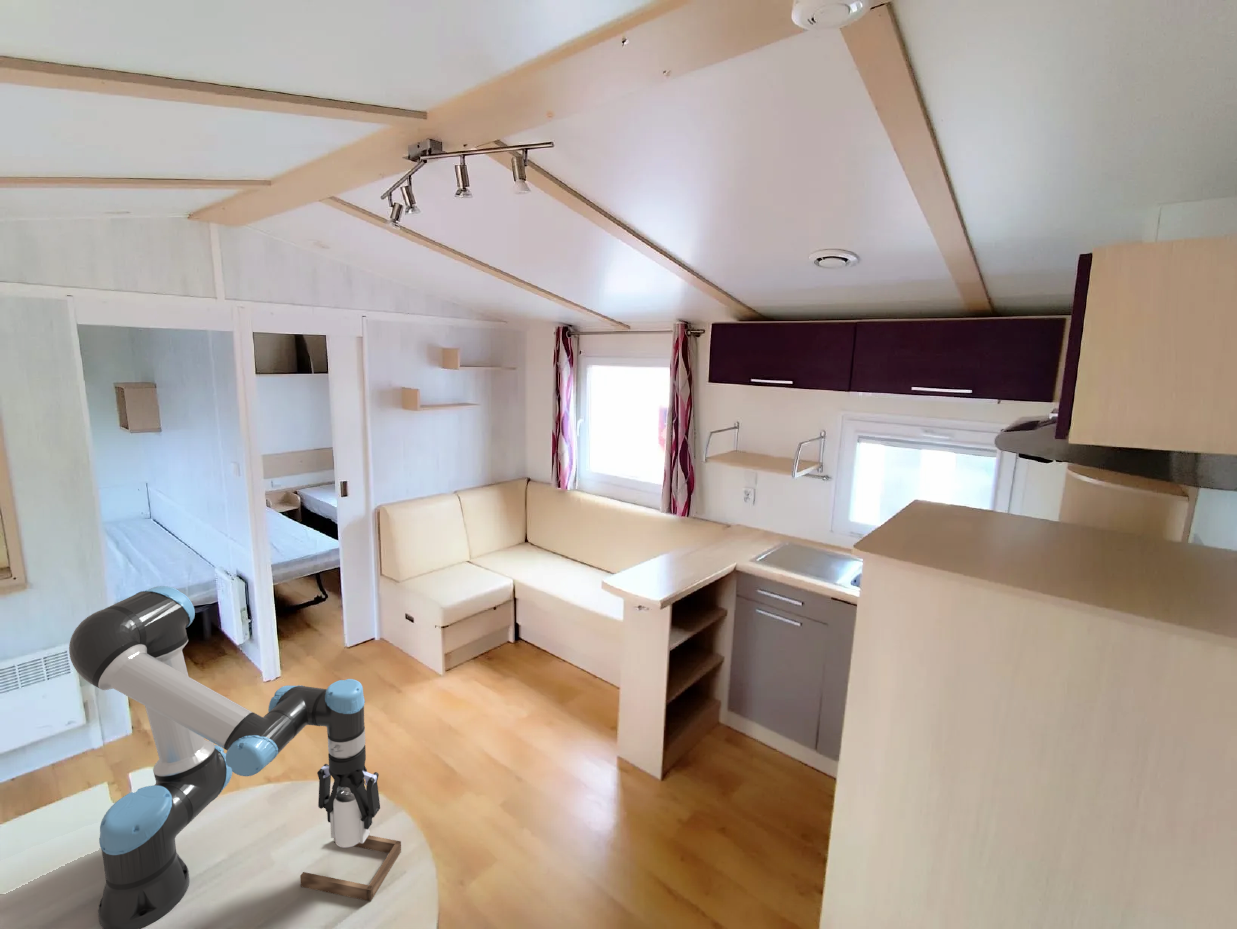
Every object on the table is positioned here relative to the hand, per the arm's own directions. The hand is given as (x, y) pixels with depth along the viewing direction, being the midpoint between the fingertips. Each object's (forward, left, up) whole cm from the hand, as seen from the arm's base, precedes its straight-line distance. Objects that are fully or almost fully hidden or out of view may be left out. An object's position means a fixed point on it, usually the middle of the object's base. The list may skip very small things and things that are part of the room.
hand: (350, 835), depth 132 cm
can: (0, 0, -1) cm, 1 cm away
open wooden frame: (0, 0, -9) cm, 9 cm away
